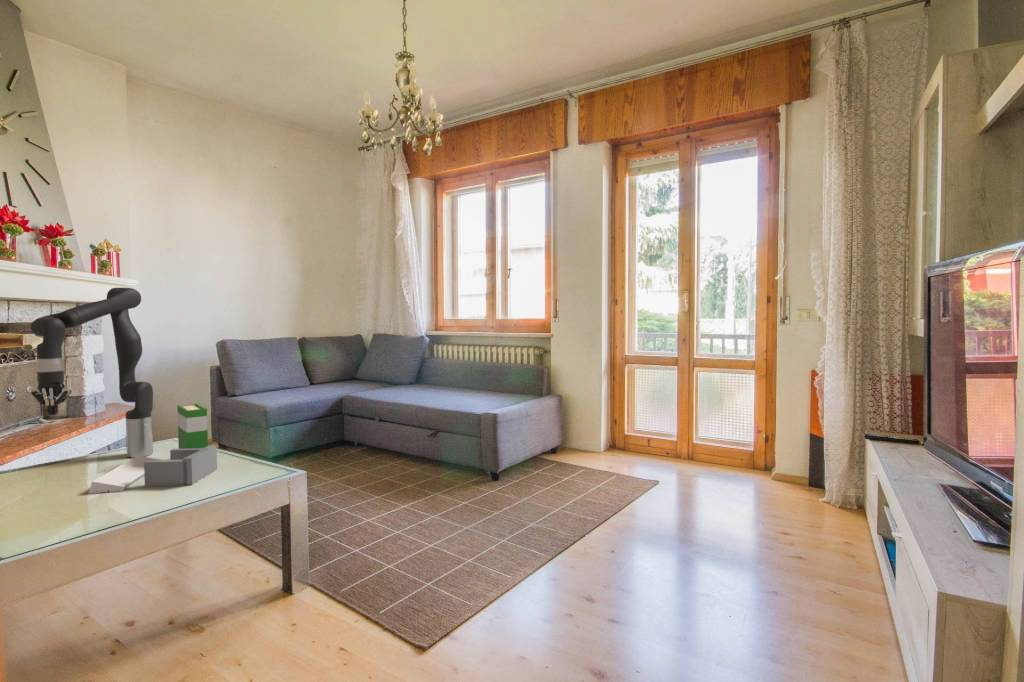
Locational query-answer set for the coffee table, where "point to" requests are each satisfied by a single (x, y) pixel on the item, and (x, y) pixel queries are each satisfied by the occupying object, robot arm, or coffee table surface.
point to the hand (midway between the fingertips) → (52, 414)
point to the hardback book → (192, 426)
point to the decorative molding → (120, 476)
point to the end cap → (181, 467)
